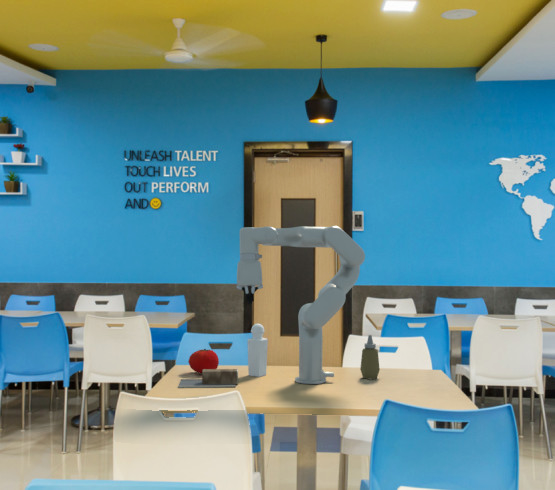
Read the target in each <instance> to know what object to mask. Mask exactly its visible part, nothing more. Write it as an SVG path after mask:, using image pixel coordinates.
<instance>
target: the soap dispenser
mask: <svg viewBox="0 0 555 490" xmlns="http://www.w3.org/2000/svg"><path fill="white" fill-rule="evenodd" d="M265 332H266V331H265V327H264V325H263V324H261V323H254V324H253V325H252V327H251V330H250V333H251V335H252V338H248V339H247V365H248V366H247V367H248V370H247V371H248V376H250V377H256V378H260V377H265V376H267V367H268V366H267V365H268V363H267V362H268V348H269V347H268V343H269V339H268V338H267V337H264V333H265Z"/></svg>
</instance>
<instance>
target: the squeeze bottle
mask: <svg viewBox="0 0 555 490" xmlns="http://www.w3.org/2000/svg"><path fill="white" fill-rule="evenodd" d="M380 370H381V369H380V358H379V350H378V349H377V348H376V343H374V341H373V337H372V334H368V336H367V342H366V343H364V348H362V351H361V359H360V373H361V376H362V378H363V379H365V378H366V379H365V380H376V379H378V376H379V373H380Z"/></svg>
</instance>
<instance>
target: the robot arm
mask: <svg viewBox="0 0 555 490" xmlns="http://www.w3.org/2000/svg"><path fill="white" fill-rule="evenodd" d="M259 245H262V246H265V247H266V246H268V247H269V246H270V247H273V246H274V247H295V248H329V249H330V248H331V249H332V250H333V251H334V252H335V253H336V254H337V255H338V256H339V262H340V266H339V269H338V271H337V272H336V274H334V276H333V277H332V278H331V279H329V281H328V282H327V283H326V284H325V285H324V286H323V287H321V288H320V290H319V292H318V293H317V294H318V295H317V298H316V299H315V300H314V301H313V302H310V303H305V304H303V305H302V306H301V307H300V308H299V312H298V317H297V318H298V337H299V338H298V376H296V377H295V378H294V381H295V383H297V384H298V383H299V384H305V385H319V384H325V383H326V382H327V378H334V377H335V372H333V371H331V372H330V371H324V369H323V342H324V341H323V337H324V336H323V327H325V325H326V324H327V323H328V322H329V321H330V320H331V319H332V318H333V317H335V315H336V314H337V313H338V312H339V311H340V309H342V307H343V306H344V304H345V303H346V298H347V297H346V295H347V294H348V293H349V291H350V290H351V289H352V288H353V287H354V285H355V284H356V283H357V281H358V278H359V277H360V271H361V267H360V266H361V265H362V264H363V263H364V262H365V260H366V259H365V258H366V254H365V250H364V249H363V248H362V247H361V246H360V245H359V244H358V243H357V242H356V241H355V240H354V239H353V238H352V237H351V236H350V235H349V234H348V233H347V232H345V231H344V230H343V229H342V228H341V227H340V226H337V225H331V226H305V225H304V226H303V225H302V226H295V227H285V228H283V227H277V228H275V227H272V226H260V227H254V226H253V227H249V226H248V227H247V226H246V227H241V228H240V229H239V261H238V262H237V268H236V269H237V270H236V289H238V290H241V291H243V292H244V293H245V302H247V305H249V304H252V305H253V302H254V298H255V296H254V295H255V293H256V291H258V290H261V289H263V288H264V286H263V271H262V263H261V261H260V259H263V255H262V254H259ZM249 287H251V288H250V291H249Z"/></svg>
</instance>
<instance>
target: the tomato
mask: <svg viewBox="0 0 555 490" xmlns="http://www.w3.org/2000/svg"><path fill="white" fill-rule="evenodd" d="M219 359H220V358H219V356H218V354H217V353H216V352H215V351H214V350H212V349H206V348H203V349H198V350H195V351H194V352H192V353H191V354H190V356H189V359H188V365H189V367H190V369H191V370H193V371H194V372H196V373H198V374H202V371H203V369H218V366H219V363H220V362H219V361H220V360H219Z"/></svg>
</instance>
